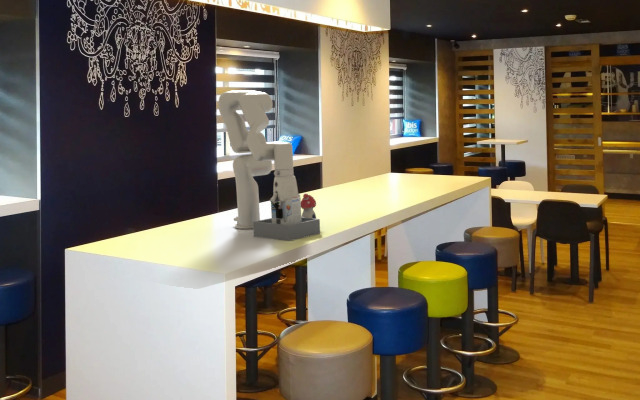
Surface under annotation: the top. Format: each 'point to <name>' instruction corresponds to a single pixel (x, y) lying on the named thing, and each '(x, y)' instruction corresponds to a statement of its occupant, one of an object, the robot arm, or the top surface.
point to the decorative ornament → (308, 206)
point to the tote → (286, 229)
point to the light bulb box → (288, 212)
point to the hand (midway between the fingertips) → (286, 216)
